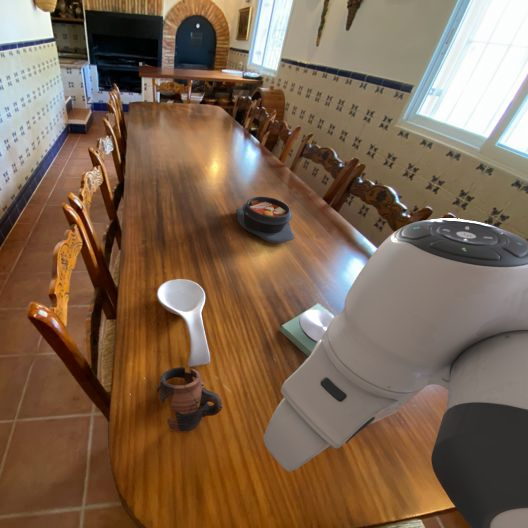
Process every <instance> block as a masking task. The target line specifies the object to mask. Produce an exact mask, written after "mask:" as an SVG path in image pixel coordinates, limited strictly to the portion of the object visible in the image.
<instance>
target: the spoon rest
mask: <svg viewBox="0 0 528 528" xmlns="http://www.w3.org/2000/svg"><path fill="white" fill-rule="evenodd" d="M156 293H157V294H156V297H157V300H158V302H159V303H160V305H161V306H162V307H163V308H164V310H166V311H168V312H169V313H171V314H173V315H174V314H175V315H177V316H179V317H180V318H182V320H183V321H184V322H185V325H186V327H187V330H188V336H189V341H190V352H189V358H188V362H187V366H188V367H190V368H192V367H198V366H204V365H209V364H210V363H211V353H210V350H209V345H208V340H207V335H206V331H205V327H204V322H203V316H202V311H203V308H204V306H205V303H206V292H205V290H204V289H203V288H202V286H201V285H200V284H198V283H197V282H196V281H193V280H190V279H184V278H178V279H171V280H168V281H165V282H163V283H162V284H161V285H160V286H159V287H158V288H157V292H156Z"/></svg>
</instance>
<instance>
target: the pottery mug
mask: <svg viewBox="0 0 528 528" xmlns="http://www.w3.org/2000/svg"><path fill="white" fill-rule="evenodd" d="M201 377H202V376H201V373H200V372H199V371H198V370H197V369H194V368H190V370H189V371H186V367H184V366H178V367H173V368H170V369H168V370H166V371H164V372H163V373H162V374H161V376H160V379H159V380H160V382H159V384H158V385H157V388H156V393H159V401H160V403H162V404H165V403H166V400H167V399H169V397H171V396H172V397H171V401H170V404H169V405H170V409H171V410H172V411H173V412H175V416H176V419H173V418H170V417H168V419H167V426H168V429H170V430H171V431H174V432H181V433H185V432H186V433H187V432H190V431H193V430H195V429H197V428H198V427H199V426H200V424H201V421H202V420H203V418H205V417H212V416H216V415H218V414H219V413H220V412H221V411H222V409H223V407H224V404H223V400H222V397H221V396H220V395H219V394H218V393H217V392H215V391H211V390H208V389H207V388H206V387H204V382H203V380H202V379H201ZM174 378H177V379H178V378H179V379H184V381H185V383H186V384H184V385H183V384H182V385H173V384H170V383H168V382H167V381H169V380H172V379H174ZM194 378H195V379H194ZM209 403H212V405H211V404H209ZM198 404H199V405H198Z"/></svg>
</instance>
